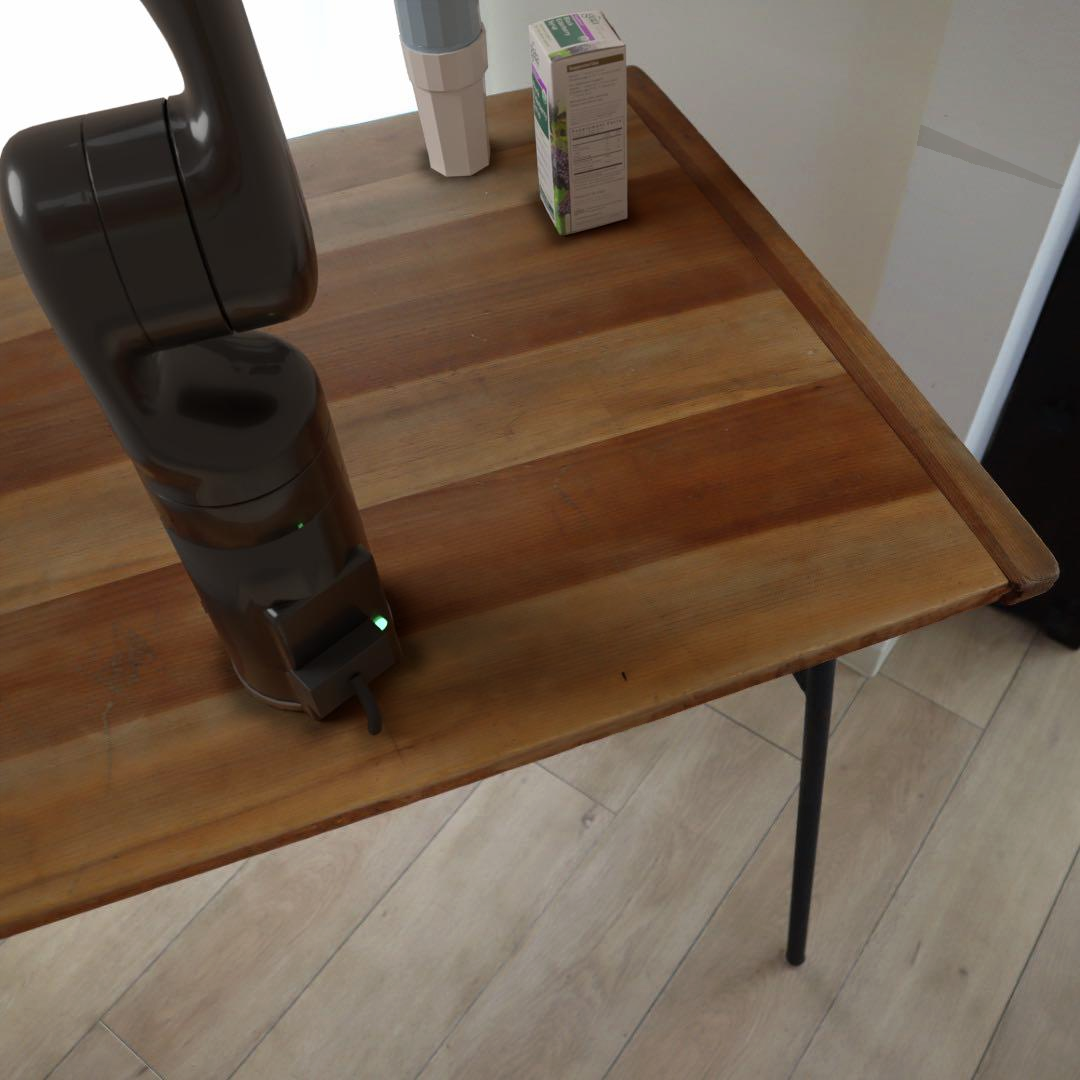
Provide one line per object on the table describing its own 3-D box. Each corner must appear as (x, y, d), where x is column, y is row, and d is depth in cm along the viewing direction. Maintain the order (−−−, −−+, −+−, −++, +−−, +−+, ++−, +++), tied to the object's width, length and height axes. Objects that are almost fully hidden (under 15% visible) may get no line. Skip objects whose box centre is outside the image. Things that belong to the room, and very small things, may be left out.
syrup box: (538, 198, 94) (522, 22, 83) (607, 180, 95) (601, 4, 84) (560, 238, 91) (546, 60, 80) (632, 219, 92) (628, 41, 80)
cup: (411, 149, 100) (389, 24, 92) (485, 129, 101) (469, 3, 93) (435, 190, 96) (413, 63, 88) (510, 169, 97) (497, 41, 89)
